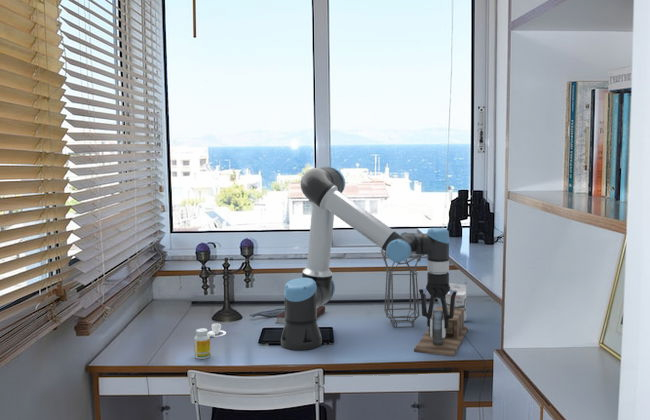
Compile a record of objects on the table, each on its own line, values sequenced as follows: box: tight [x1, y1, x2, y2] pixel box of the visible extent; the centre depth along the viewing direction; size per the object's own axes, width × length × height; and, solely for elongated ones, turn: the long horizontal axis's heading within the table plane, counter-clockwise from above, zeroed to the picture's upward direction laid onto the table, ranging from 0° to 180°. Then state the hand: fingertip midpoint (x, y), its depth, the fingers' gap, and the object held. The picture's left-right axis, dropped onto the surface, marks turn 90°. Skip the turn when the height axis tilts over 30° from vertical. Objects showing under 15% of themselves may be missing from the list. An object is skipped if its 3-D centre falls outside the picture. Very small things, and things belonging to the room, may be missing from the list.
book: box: [275, 305, 326, 325], centre depth 256 cm, size 14×22×4 cm, turn 159°
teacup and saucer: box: [207, 322, 227, 338], centre depth 236 cm, size 9×8×4 cm
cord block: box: [432, 309, 454, 346], centre depth 225 cm, size 22×6×12 cm, turn 159°
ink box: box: [446, 282, 468, 322], centre depth 248 cm, size 8×5×15 cm, turn 61°
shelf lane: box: [413, 306, 469, 357], centre depth 224 cm, size 32×14×8 cm, turn 158°
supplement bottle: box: [193, 327, 211, 360], centre depth 210 cm, size 5×5×10 cm
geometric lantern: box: [380, 249, 425, 329], centre depth 242 cm, size 16×16×35 cm
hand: (437, 336), depth 216 cm, fingers closed on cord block, 3 cm apart
